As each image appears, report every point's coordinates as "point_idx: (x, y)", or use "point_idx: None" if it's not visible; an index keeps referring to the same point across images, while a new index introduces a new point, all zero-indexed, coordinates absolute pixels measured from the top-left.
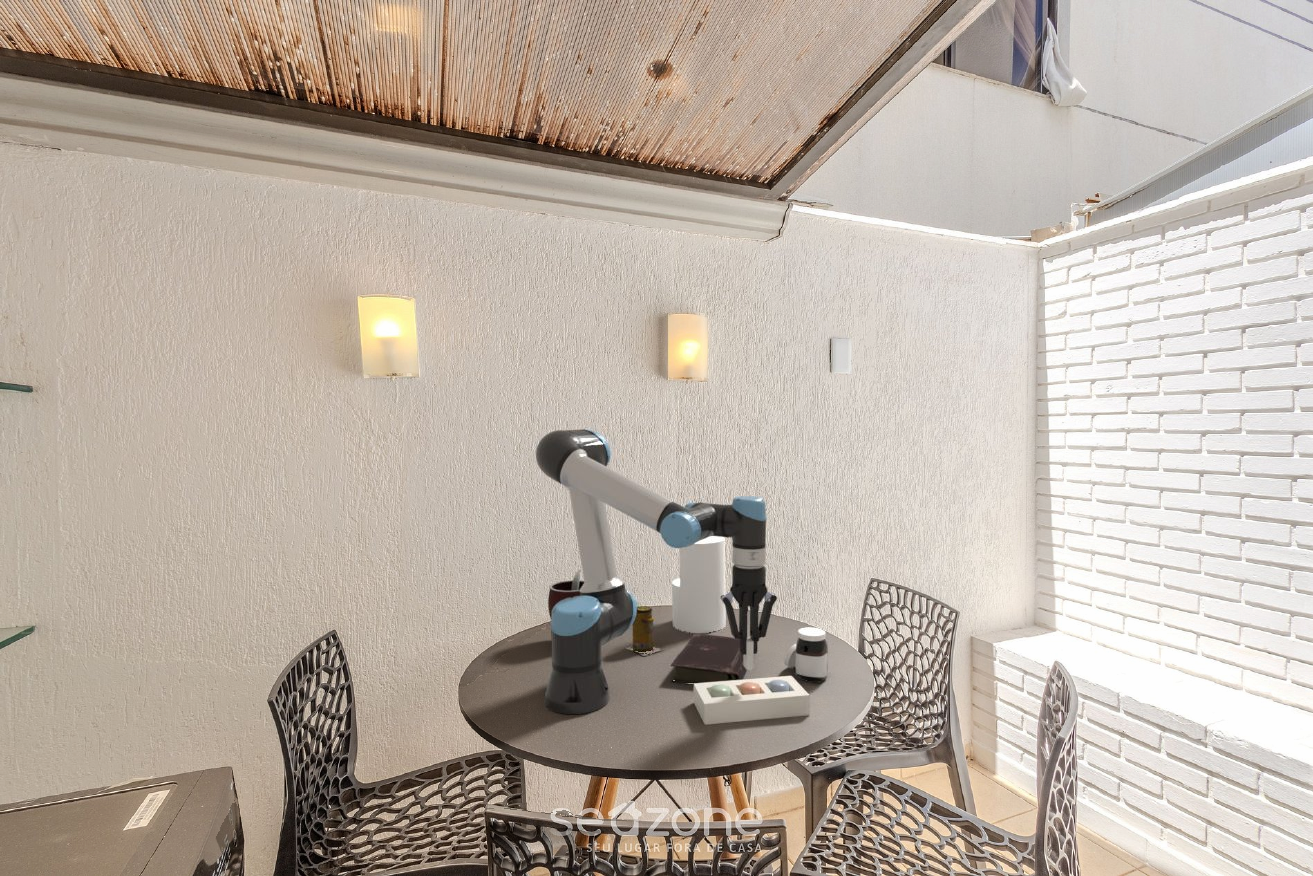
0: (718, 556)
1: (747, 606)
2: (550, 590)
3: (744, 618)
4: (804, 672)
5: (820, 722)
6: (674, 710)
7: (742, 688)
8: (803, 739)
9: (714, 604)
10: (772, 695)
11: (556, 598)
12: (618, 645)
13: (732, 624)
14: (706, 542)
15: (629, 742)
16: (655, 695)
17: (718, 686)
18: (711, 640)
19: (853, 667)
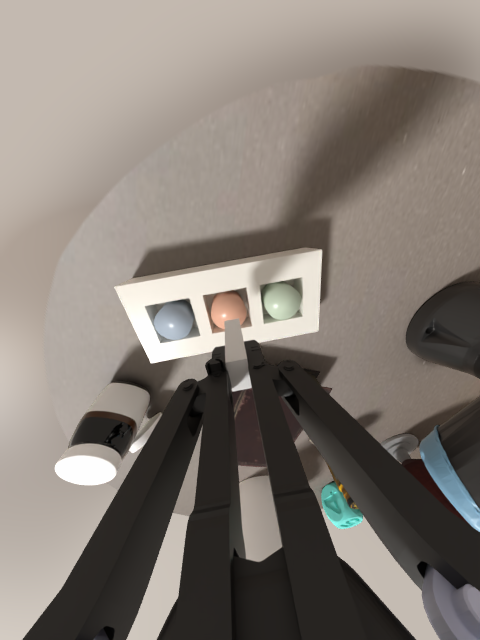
0: None
1: (292, 556)
2: None
3: (279, 440)
4: (133, 389)
5: (112, 251)
6: (336, 295)
7: (244, 305)
8: (144, 181)
9: (248, 525)
10: (189, 285)
11: None
12: None
13: (331, 402)
14: None
15: (432, 187)
16: (348, 337)
17: (285, 311)
18: (260, 455)
19: (68, 422)
